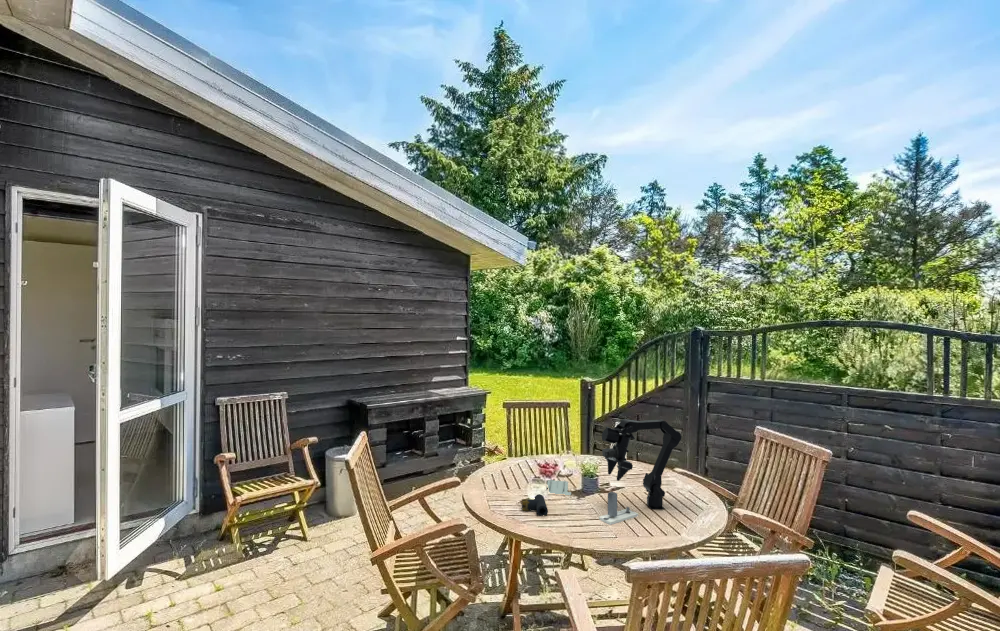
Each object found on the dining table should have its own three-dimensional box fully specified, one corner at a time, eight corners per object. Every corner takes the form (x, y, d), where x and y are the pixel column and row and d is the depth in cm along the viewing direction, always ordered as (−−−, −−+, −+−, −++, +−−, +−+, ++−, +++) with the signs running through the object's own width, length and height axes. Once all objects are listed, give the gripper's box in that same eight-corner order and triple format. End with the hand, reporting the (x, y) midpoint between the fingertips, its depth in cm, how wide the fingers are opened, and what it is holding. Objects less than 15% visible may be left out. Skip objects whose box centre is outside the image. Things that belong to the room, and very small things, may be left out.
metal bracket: (544, 476, 266) (571, 477, 263) (544, 485, 267) (572, 487, 264) (541, 492, 252) (570, 494, 249) (542, 501, 254) (570, 504, 251)
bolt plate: (626, 511, 231) (626, 503, 231) (638, 516, 225) (638, 508, 226) (598, 519, 222) (598, 511, 222) (609, 524, 216) (609, 517, 216)
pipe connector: (523, 505, 225) (521, 493, 240) (523, 516, 225) (520, 504, 240) (548, 505, 225) (544, 494, 240) (547, 517, 225) (544, 504, 240)
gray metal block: (612, 514, 224) (612, 491, 224) (617, 516, 221) (617, 493, 221) (607, 516, 222) (607, 492, 222) (612, 518, 219) (612, 494, 220)
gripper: (598, 437, 241) (590, 467, 240) (615, 446, 222) (606, 480, 221) (618, 442, 243) (610, 472, 242) (637, 452, 225) (628, 485, 224)
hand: (613, 477), depth 232 cm, fingers open, 9 cm apart
